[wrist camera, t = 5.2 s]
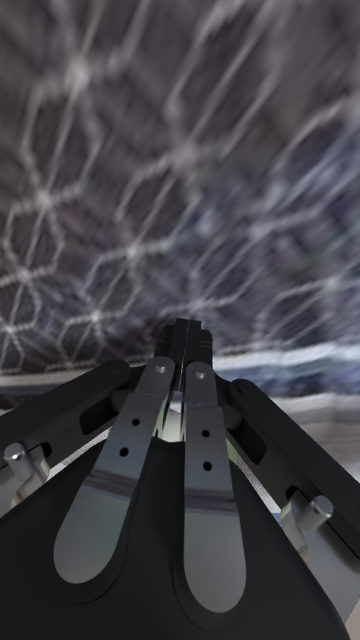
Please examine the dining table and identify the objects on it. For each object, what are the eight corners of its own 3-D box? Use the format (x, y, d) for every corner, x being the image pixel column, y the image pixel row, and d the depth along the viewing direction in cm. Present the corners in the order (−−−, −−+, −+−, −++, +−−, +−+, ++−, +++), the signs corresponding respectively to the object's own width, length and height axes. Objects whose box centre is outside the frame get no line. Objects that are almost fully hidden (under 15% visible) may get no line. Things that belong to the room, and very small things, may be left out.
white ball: (204, 432, 22) (205, 411, 18) (188, 501, 19) (186, 493, 15) (151, 416, 23) (142, 393, 19) (128, 478, 20) (111, 465, 16)
